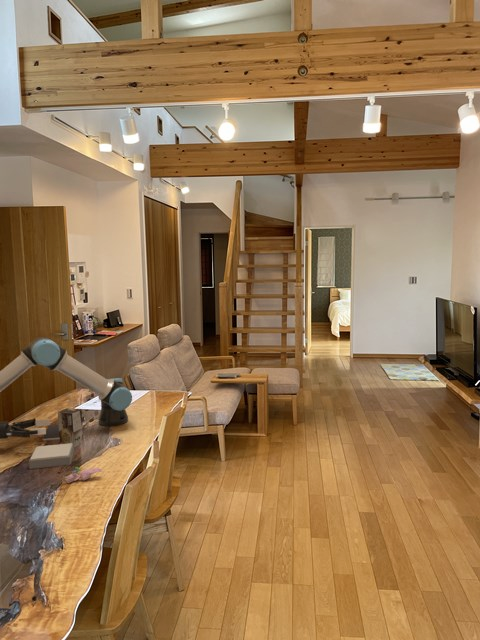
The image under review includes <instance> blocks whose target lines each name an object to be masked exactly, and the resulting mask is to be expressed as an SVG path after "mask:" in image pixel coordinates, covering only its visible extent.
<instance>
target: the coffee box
mask: <svg viewBox="0 0 480 640" xmlns="http://www.w3.org/2000/svg"><path fill="white" fill-rule="evenodd" d="M82 412H83V411H82V409H78V408H77V409H76V408H64V409H62V410H60V411H57V422H58V424H57V425H59V436H60V439H59V444H69V443H72V444H74V448H77V447H79V446H82V445H83V444H84V441H85V440H84V431H83V428H84V427H83V415H82V414H83V413H82Z"/></svg>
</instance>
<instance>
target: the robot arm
mask: <svg viewBox="0 0 480 640" xmlns="http://www.w3.org/2000/svg"><path fill="white" fill-rule="evenodd" d="M67 351H68V350H67V349H65V348H64V347H62V346H61V345H59V344H57V342H55V341H54V340H52V339H50V338H49V337H46V336H39V337H37V338H34V339H33V340H32V341H31V342H30V343H29V344H28V345H27V346H26V347H25V348H24V349H22V350H21V351H20V355H18V356H17V357H16V358H14V360H12V361H10V362H9V364H8V365H6V366H5V367H4V368H2V369H1V370H0V393H1V392H2V391H4V390H5V389H6V388H7V387H9V386H10V385H11V384H12V383H13V382H14V381H16V380H17V379H18V378H19V377H20V376H22V375H23V374H24V373H25V372H26V371H28V370H29V369H30V368H31V367H36V366H37V365H40V366H43V367H45V368H47V370H50V371H58V372H60V373H61V374H63V375H64V376H66V377H68V378H70V379H71V380H73V381H75V382H76V383H77V384H80V385H81V386H83V388H85V389H88V390H90V391H91V392H93V393H94V394H96V395H97V396H98V400H100V407H101V408H100V413H99V416H98V424H99V425H100V426H105V427H111V426H120V425H122V424H125V423H127V422H129V415H128V413H127V411H126V410H127V408H129V406H130V405H131V403H132V402H133V395H132V392H131V390H130V389H129V388H127V387H126V386H124V381H123V379H122V378H121V377H116V378H113V377H112V378H105V377H104V376H102V375H101V374H99V373H97V372H96V371H94V370H92V369H91V368H90V367H88V366H87V365H85V364H84V363H81V362H80V361H78V360H77V359H76V358H74V357H72V356H70V355H68V352H67ZM49 425H52V424H51V419H50V418H48V419H47V418H46V419H36V418H32V419H27V420H23V421H22V420H21V421H18V422H17V421H16V422H15V421H14V422H12V424H9V422H8V421H0V440H1V439H3V440H5V439H8V438H9V437H14V438H28V439H30V438H31V436H40V435H45V434H46V431H47V428H46V427H43V426H49ZM34 426H35V427H39V428H31V427H34ZM27 428H30V429H27Z"/></svg>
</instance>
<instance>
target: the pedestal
mask: <svg viewBox="0 0 480 640" xmlns="http://www.w3.org/2000/svg"><path fill="white" fill-rule="evenodd" d="M74 454H75V447H74V444H72V443H69V444H60V443H59V444H51V445H41V446H36V447H35V449H34V450H33V452H32V454H31V456H30V458H29V460H28V467H29V470H34V469H35V470H36V469H42V468H45V469H46V468H52V467H54V468H55V467H62V466H71V464H72V460H73V457H74Z"/></svg>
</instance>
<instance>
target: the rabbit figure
mask: <svg viewBox="0 0 480 640" xmlns="http://www.w3.org/2000/svg"><path fill="white" fill-rule="evenodd" d="M79 471H80V467H78V466H75V470H73V471H72V473H71V474H69V475H67V476H64V477H61V478H62V480H61V481H62V484H64V482H66V483H67V484H70V483H73V482H75V481H78V480H79V479H81V480H82V481H85V480H88V479H90V478H91V476H92V475H94V474H95V473H98V472H100V473H102V472H103V469H102V468H100V467H94V468H91V469H88V468H85V469H83V470H81V472H80V474H78V473H79Z"/></svg>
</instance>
